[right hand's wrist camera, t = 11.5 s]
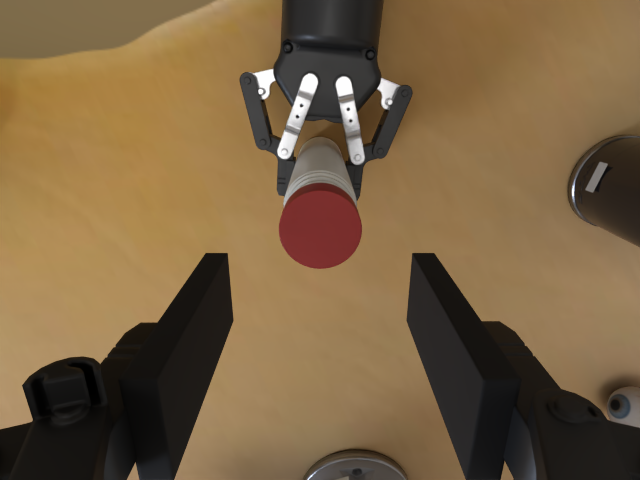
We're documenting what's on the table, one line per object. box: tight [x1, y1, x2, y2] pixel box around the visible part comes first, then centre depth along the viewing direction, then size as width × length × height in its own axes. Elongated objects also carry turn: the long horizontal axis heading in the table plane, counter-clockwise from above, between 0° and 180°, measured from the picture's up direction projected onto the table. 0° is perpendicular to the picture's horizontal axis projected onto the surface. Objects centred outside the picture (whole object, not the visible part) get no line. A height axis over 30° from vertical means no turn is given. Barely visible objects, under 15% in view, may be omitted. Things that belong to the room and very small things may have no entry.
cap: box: [279, 183, 362, 269], centre depth 21 cm, size 4×4×2 cm
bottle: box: [284, 137, 357, 207], centre depth 31 cm, size 4×4×22 cm
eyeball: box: [607, 386, 640, 428], centre depth 48 cm, size 6×6×6 cm
